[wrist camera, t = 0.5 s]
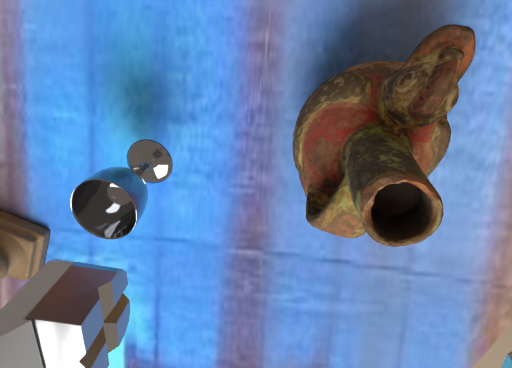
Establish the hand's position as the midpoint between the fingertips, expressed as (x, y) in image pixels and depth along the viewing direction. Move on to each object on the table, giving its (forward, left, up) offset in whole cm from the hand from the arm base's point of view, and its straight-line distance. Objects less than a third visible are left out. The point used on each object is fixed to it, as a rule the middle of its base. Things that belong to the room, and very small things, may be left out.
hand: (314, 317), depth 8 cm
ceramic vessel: (+5, +10, -45) cm, 47 cm away
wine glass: (+20, -18, -45) cm, 53 cm away
